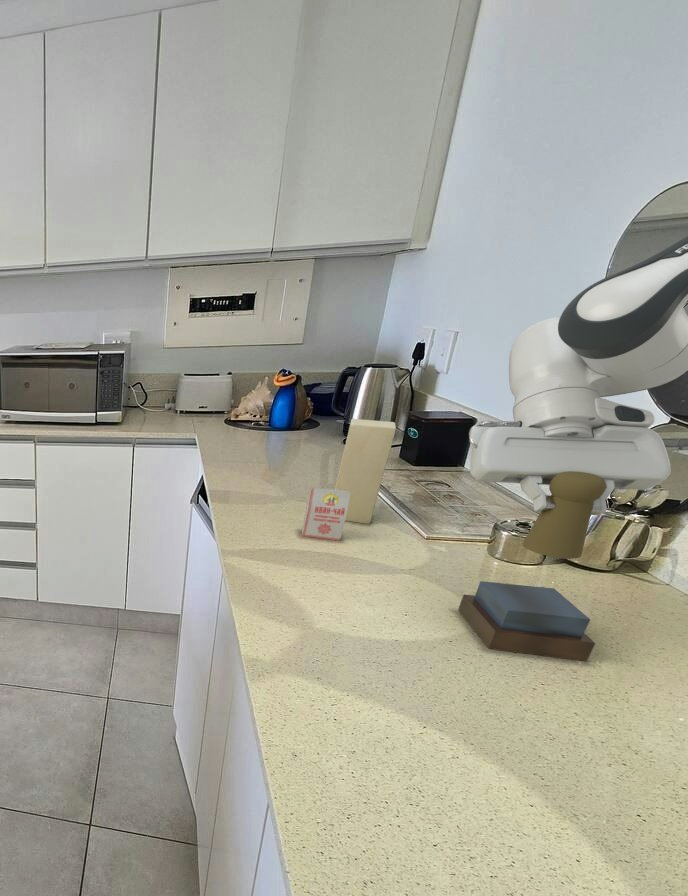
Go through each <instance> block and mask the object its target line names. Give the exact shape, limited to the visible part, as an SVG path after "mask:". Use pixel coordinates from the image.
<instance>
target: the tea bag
mask: <svg viewBox="0 0 688 896" xmlns="http://www.w3.org/2000/svg"><path fill="white" fill-rule="evenodd" d="M350 493H351V492H350V491H340V490H334V489H329V488H328V489H327V488H320V487H319V488H318V487H317V488H316V487H311V488H310V493H309V497H308V500H307V503H306V509H305V513H304V517H303V523H302V527H301V534H302V537H305V538H306V537H307V538H313V539H321V540H322V539H323V540H330V541H338V542H341V540H342V535H343V531H344V526H345V524H346V523H345V522H346V521H345V519H346V515H347V509H348V503H349V498H350Z"/></svg>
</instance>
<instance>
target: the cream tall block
mask: <svg viewBox="0 0 688 896" xmlns="http://www.w3.org/2000/svg"><path fill="white" fill-rule="evenodd" d="M396 431H397V426H396V422H394V421H385V420H375V419H374V420H372V419H359V418H351V420H350V424H349V427H348V432H347V436H346V442H345V445H344V448H343V453H342V457H341V462H340V465H339V469H338V474H337V478H336V480H335V486H334V489H333V490H340V491H350V492H351V493H350V498H349V503H348V509H347V515H346V519H345V522H353V523H357V524H358V523H360V524H364V525H365V524H366V525H370V524H371V520H372V517H373V514H374V511H375V508H376V507H375V506H376V503H377V499H378V496H379V492H380V489H381V485H382V482H383V478H384V474H385V471H386V467H387V463H388V460H389V456H390V453H391V449H392V445H393V442H394V438H395V434H396Z"/></svg>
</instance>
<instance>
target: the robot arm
mask: <svg viewBox="0 0 688 896" xmlns="http://www.w3.org/2000/svg"><path fill="white" fill-rule="evenodd" d="M687 302H688V235H687V236H685V237H683V238H682V239H680V240H678V241H677V242H675V243H673V244H671V245H669V246H668V247H665V248H664V249H663V250H661V251H659V252H658V253H656V254H653V255H652V256H650V257H649V258H646V259H644V260H642V261H640V262H638V263H636V264H634V265H632V266H629V267H627V268H625V269H622V270H620V271H618V272H616V273H613V274H610V275H608V276H607V277H603V278H602V279H600V280H598V281H596V282H594V283H593V284H591V285H589V286H588V287H586V288H585V289H583V290H582V291H581V292H579V293H578V294H577V295H576V296H574V298H573V299H572V300H570V302H568V304H567V305H566V306H565V308H564V310H563V311H562V313H561V315H560V316H554V317H549V318H546V319H543V320H540V321H539V322H536V323H533V324H532V325H530V326H529V327H527V328H526V329H524V330H523V331H522V332H521V333H520V334H519V335H518V336H517V337H516V339H515V340H514V342H513V344H512V346H511V348H510V351H509V357H508V381H509V388H510V392H511V394H512V395H513V397H514V403H513V407H512V416H513V421H512V420H503V421H494V420H483V421H480V422H479V423H476V424H474V425H472V426H471V427H470V429H469V431H468V437H469V439H468V440H469V443H470V445H471V446H472V449H471V452H470V453H471V454H470V461H469V462H470V463H469V473H470V476H471V477H472V478H473V479H475V480H476V481H477V482H483V483H484V482H487V483H503V484H506V483H507V484H520V485H519V486H520V490H521V492H523V493H524V494H525V495H526V496H527V498H529V500H531V501H532V505H533V511H534V512H540V513H541V512H547V511H549V510H552V509H554V508H555V503H554V496H551V495H549V494H547V493H546V492H545V491H544V489H542V487H541V486H540V485H542V486H543V485H544V486H549V485H550V482H551V480H552V479H553V477H554V476H556V475H557V474H558V473H561V472H566V471H575V472H585V473H590V474H594V475H597V476H600V477H601V478H603V479H604V480H605V482H606V489H605V491H604V493H603V494H602V496H601V497H600V498H599V499H597V500H595V501H594V503H593V507H592V512H591V516H601V515H603V514H605V513H606V512H607V510H608V506H607V499H608V498H609V496H610V495H611V493H612V492H613V491H614V490H615V489H617V490H635V491H636V490H638V491H647V490H650V489H652V488H654V487H656V486H657V485H659V484H661V483H663V482H665V480H666V479H667V478H669V476H671V472H672V468H671V461H670V458H669V454H668V451H667V448H666V445H665V443H664V440H663V439H662V437H661V436H660V435H659V433H657V431H655V430H654V429H652V428H650V427H651V426H652V425H653V424H655V421H656V419H655V415H654V413H653V412H652V411H650V410H647V409H643V408H639V407H634V406H629V405H626V404H622V403H618V402H615V401H612V400H609V399H606V397H613V396H620V395H625V394H632V393H637V392H643V391H646V390H647V391H648V390H651V389H655V388H659V387H662V386H664V385H667V384H670V383H672V382H674V381H676V380H677V379H679V378H680V377H682V376H684V375H685V374H687V373H688V314H687V312H686V310H685V305H686V303H687Z"/></svg>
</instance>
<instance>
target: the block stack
mask: <svg viewBox="0 0 688 896" xmlns="http://www.w3.org/2000/svg"><path fill="white" fill-rule="evenodd" d="M457 611H458V613H459V614H460V615H461V616H462V618H464V620H465V621H466V622H467V624H468V625H469V626H470V627H471V629H472V630H473V631H474V633H476V635H477V636H478V637H479V639H480V640H481V641H482V642H483V644H484V645H485V646H486V647H487V648H488V649H489V650H495V651H504V652H510V653H511V652H512V653H520V654H527V655H533V656H534V655H535V656H544V657H550V658H557V659H566V660H573V661H580V662H581V661H582V662H588V660H589V657H590V656H591V654H592V652H593V650H594V648H595V646H596V642H595V641H594V640H592V638H591V637H589V635H587V634H586V633H585V632H586V630H587V628H588V626H589V624H590V621H591V618H589V617H588V616H587V615H586V614H585V613H584V612H583V611H581V610H580V609H579V608H578V607H577V606H576V605H574V604H573V603H572V602H571V601H570V600H568V598H566V597H565V596H564V595H562V593H560V592H559V591H558V590H557V589H556V588H554V587H545V586H544V587H543V586H534V585H523V584H512V583H502V582H493V581H483V580H480V581H479V584H478V586H477V589H476V591H475V595H473V594H464V593H463V595H462V598H461V601H460V604H459V606H458V609H457Z"/></svg>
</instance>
